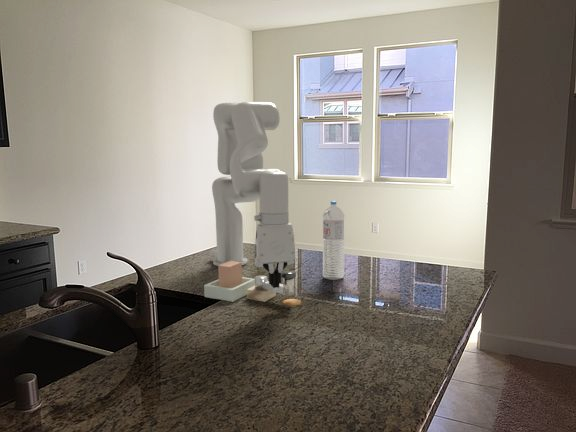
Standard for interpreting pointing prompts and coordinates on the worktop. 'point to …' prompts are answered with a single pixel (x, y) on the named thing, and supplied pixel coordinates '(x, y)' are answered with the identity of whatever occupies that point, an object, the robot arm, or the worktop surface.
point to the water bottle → (333, 243)
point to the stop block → (230, 274)
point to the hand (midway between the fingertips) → (275, 286)
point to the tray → (228, 290)
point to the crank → (284, 288)
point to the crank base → (267, 296)
